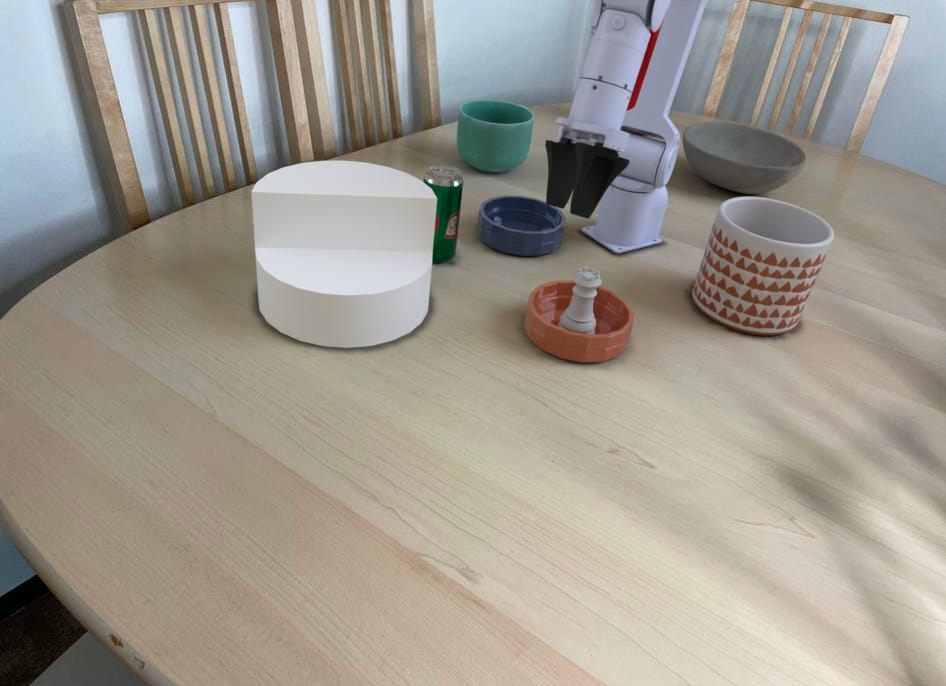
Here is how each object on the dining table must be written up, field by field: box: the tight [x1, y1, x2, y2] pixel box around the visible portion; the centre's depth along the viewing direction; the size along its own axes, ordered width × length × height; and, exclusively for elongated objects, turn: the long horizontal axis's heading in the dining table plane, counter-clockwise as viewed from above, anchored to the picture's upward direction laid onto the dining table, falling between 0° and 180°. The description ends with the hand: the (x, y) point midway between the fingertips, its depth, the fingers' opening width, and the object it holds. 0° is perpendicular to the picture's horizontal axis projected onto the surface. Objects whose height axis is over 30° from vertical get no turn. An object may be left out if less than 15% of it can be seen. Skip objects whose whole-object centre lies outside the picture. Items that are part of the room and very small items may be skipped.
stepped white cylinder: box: [250, 160, 437, 349], centre depth 85 cm, size 20×20×13 cm
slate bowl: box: [476, 195, 567, 257], centre depth 106 cm, size 12×12×4 cm
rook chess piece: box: [558, 266, 603, 335], centre depth 85 cm, size 4×4×8 cm
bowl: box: [682, 121, 807, 195], centre depth 132 cm, size 21×21×8 cm
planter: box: [691, 196, 835, 336], centre depth 94 cm, size 14×14×13 cm
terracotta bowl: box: [523, 279, 635, 363], centre depth 87 cm, size 12×12×4 cm
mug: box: [456, 99, 535, 174], centre depth 128 cm, size 17×13×10 cm
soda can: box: [422, 164, 464, 264], centre depth 97 cm, size 5×5×12 cm
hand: (566, 211), depth 82 cm, fingers open, 7 cm apart
